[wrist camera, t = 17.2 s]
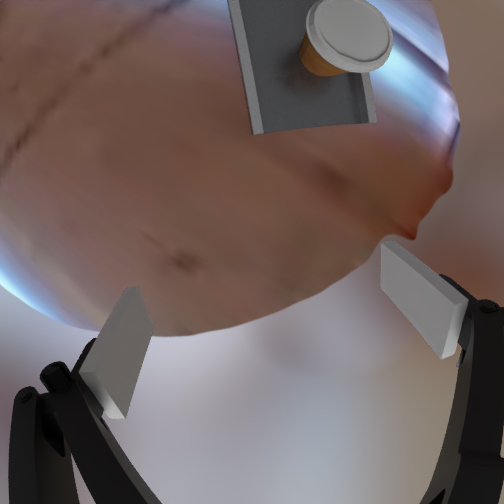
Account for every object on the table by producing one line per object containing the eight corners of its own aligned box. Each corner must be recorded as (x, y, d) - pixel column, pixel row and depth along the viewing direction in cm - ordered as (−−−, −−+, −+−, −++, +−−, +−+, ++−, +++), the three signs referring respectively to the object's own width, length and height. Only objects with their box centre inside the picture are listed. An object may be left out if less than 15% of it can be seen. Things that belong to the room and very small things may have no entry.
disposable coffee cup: (272, 52, 32) (288, 20, 21) (318, 15, 30) (348, -22, 19) (324, 101, 35) (360, 88, 24) (367, 61, 33) (412, 41, 22)
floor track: (366, 123, 37) (377, 122, 34) (252, 135, 37) (253, 134, 34) (337, -10, 29) (345, -19, 26) (225, -6, 29) (225, -16, 26)
